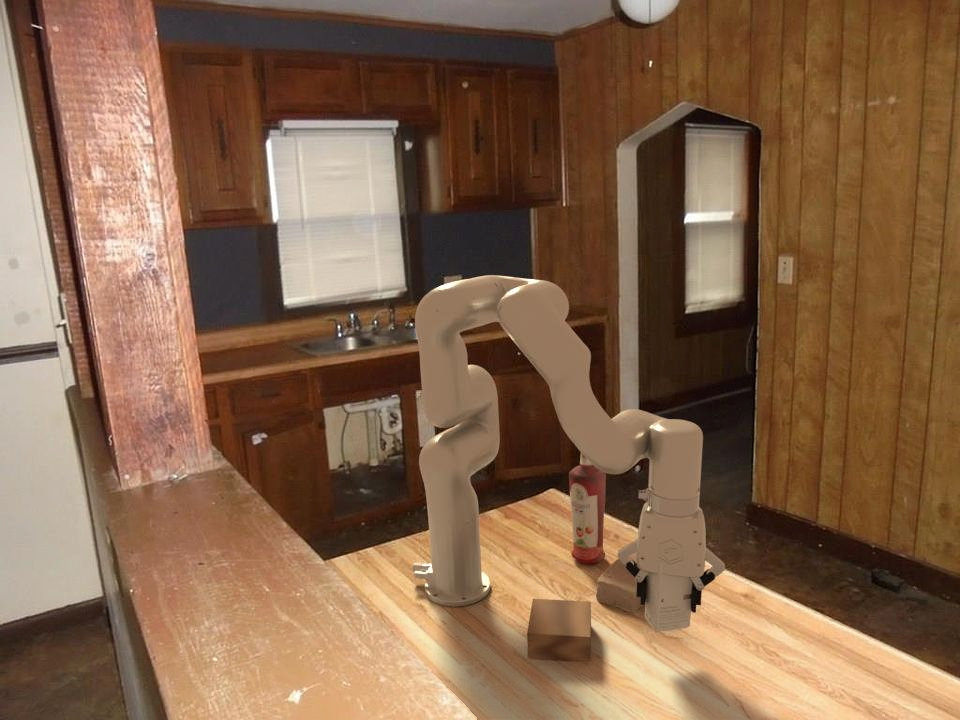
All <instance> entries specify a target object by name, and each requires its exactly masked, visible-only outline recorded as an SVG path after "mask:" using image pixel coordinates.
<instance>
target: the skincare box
mask: <svg viewBox="0 0 960 720" xmlns="http://www.w3.org/2000/svg"><path fill="white" fill-rule="evenodd" d="M661 571H662V562H659V568H658V573H650V572H648V574H647V578H646V600H645V605H644V606H645V607H644V618H645V619H646V622H647V623H648V624H649V625H650V627H651V628H652V629H653V630H654V632H655V633H660V632H667V631H668V632H669V631H675V630H681V629H687V628H689V627H690V626H691V617H692V616H691V614H692V613H691V612H692V611H691V600H692V585H693V581H692V579H691V578H689V577H680V576H672V575H665V574H662V573H661Z"/></svg>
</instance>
